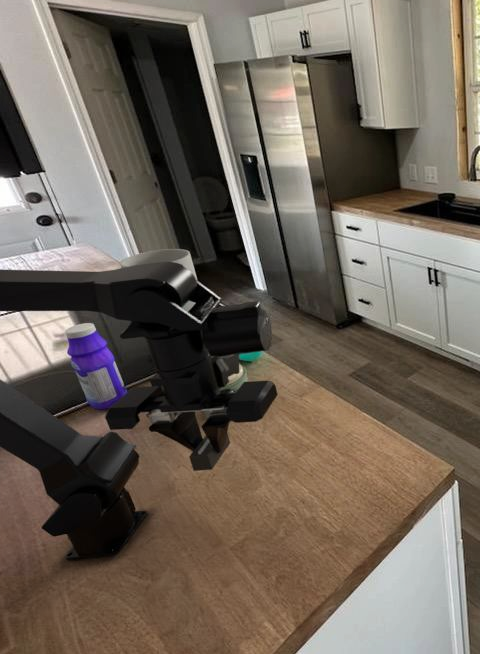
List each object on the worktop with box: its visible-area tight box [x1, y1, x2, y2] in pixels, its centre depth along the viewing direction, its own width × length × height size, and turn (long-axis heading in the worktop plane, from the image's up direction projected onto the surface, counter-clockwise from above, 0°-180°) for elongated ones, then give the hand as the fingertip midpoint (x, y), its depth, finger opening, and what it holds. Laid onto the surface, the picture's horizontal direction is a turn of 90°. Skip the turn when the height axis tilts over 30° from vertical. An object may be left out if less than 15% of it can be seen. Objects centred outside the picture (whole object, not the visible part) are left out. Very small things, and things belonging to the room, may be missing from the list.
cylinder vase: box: [119, 248, 199, 312], centre depth 99 cm, size 12×12×25 cm
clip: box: [188, 432, 231, 472], centre depth 59 cm, size 5×2×3 cm, turn 7°
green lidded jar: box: [203, 363, 249, 419], centre depth 84 cm, size 9×9×8 cm
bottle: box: [64, 322, 128, 410], centre depth 82 cm, size 7×6×17 cm
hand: (211, 450), depth 59 cm, fingers closed on clip, 2 cm apart
